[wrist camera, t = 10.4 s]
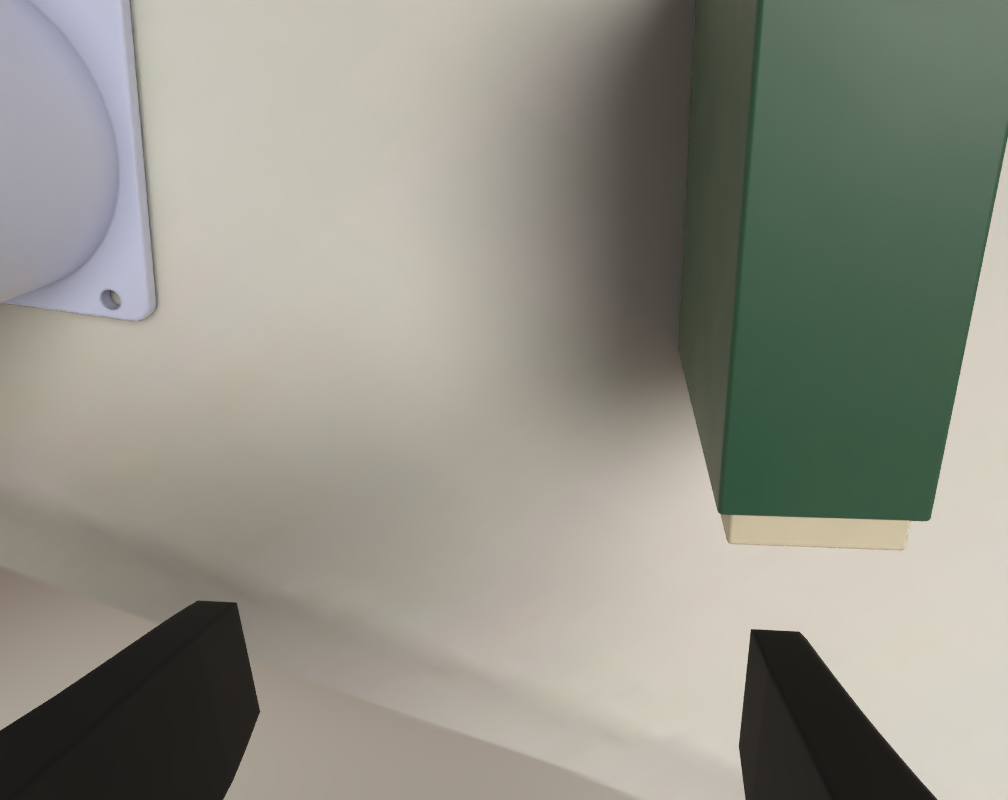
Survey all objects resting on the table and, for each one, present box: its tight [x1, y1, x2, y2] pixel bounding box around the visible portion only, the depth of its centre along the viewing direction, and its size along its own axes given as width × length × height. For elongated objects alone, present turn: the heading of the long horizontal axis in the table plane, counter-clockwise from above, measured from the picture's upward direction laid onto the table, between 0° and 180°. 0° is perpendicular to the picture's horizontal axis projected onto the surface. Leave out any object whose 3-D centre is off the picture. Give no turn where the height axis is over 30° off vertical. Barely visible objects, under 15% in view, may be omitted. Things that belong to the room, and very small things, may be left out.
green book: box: [678, 0, 1008, 550], centre depth 13 cm, size 3×9×8 cm, turn 2°
